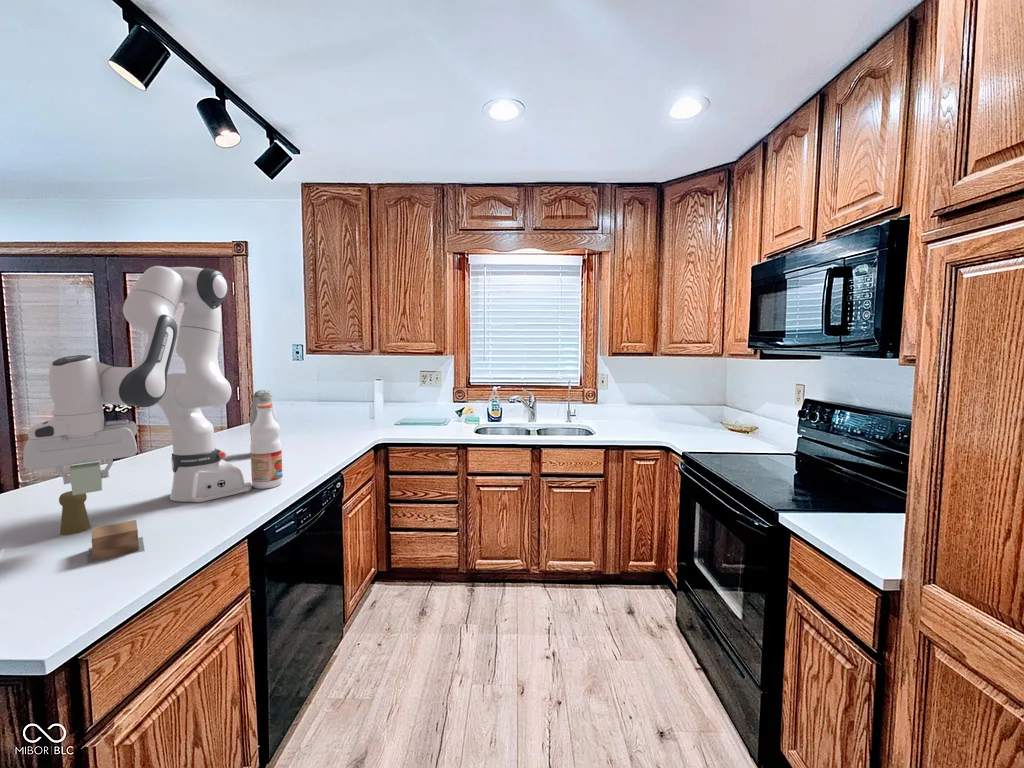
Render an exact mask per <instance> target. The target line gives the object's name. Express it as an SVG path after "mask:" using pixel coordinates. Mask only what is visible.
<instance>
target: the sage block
mask: <svg viewBox="0 0 1024 768" xmlns="http://www.w3.org/2000/svg"><path fill="white" fill-rule="evenodd" d="M100 470H102V467H101V461H94V462H87V463H80V464H73V465H70V468H69V475H70V479H71V483H70V484H71V491H72V495H78V494H84V493H86V494H89V493H95V492H101V491H103V478H101V473H100Z"/></svg>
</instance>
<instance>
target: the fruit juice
mask: <svg viewBox="0 0 1024 768" xmlns="http://www.w3.org/2000/svg"><path fill="white" fill-rule="evenodd" d="M256 410H257V417H256V420H255V422H254V423H253V425H252V426H251V428H250V427H249V430H250V431H249V433H250V434H249V435H250V438H251V437H252V442H251V441H250V451H249V452H250V469H251V485H252V488H254V489H262V490H264V489H272V488H276V487H279V486H281V485H282V484H283V478H284V477H283V455H282V441H281V439H280V434H281V426H280V424H279V423H278V421H277V422H276V421H275V420H274V418H273V415H272V411H271V410H272V404H269V403H265V404H257V405H256Z"/></svg>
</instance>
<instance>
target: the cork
mask: <svg viewBox="0 0 1024 768" xmlns="http://www.w3.org/2000/svg"><path fill="white" fill-rule="evenodd" d="M86 501H87V493H84V494H78V495H72V490H69V491H65V492H63V493H62V494H60V496H59V497H58V502H59V505H60V506H61V508H62V509H61V521H60V527H59V528H60V529H59V535H61V536H68V535H69V536H70V535H77V534H80V533H84V532H87V531H89V530H90V529H92V527H91V524H90V523H91V522H90V519H89V515H88V512H87V508H86V504H85V502H86Z"/></svg>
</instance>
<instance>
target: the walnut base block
mask: <svg viewBox="0 0 1024 768" xmlns="http://www.w3.org/2000/svg"><path fill="white" fill-rule="evenodd" d="M138 538H139V531H138V522H137V519H133V520H127V521H123V522H122V521H121V522H117V523H112V524H111V523H110V524H105V525H100V526H95V527H92V532H91V548H92V550H93V561H94V560H99V559H103V558H108V557H112V556H117V555H121V554H126V553H130V552H135V551H139V543H138Z"/></svg>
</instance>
